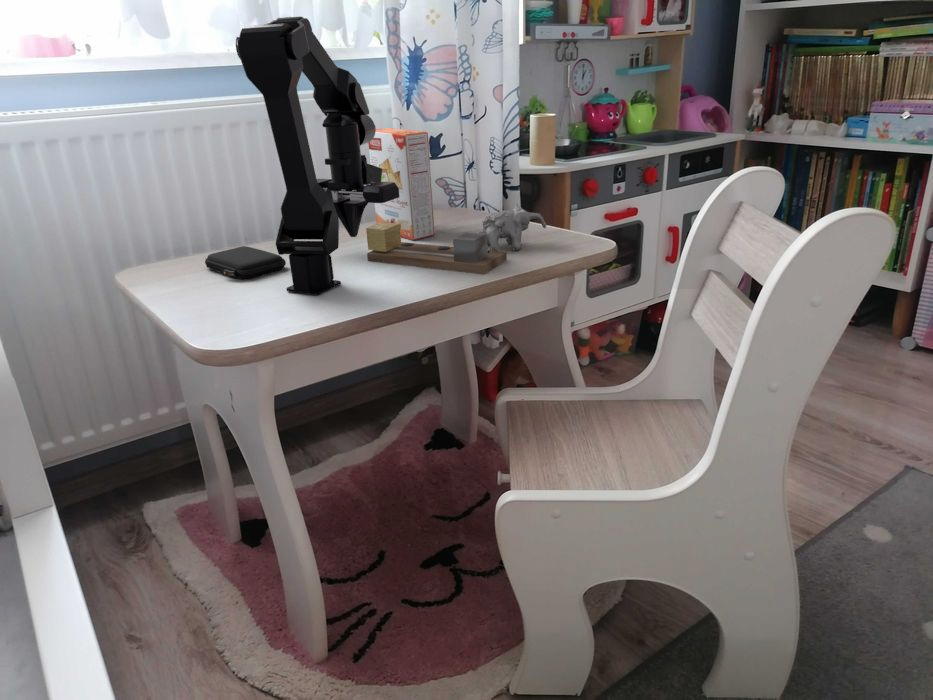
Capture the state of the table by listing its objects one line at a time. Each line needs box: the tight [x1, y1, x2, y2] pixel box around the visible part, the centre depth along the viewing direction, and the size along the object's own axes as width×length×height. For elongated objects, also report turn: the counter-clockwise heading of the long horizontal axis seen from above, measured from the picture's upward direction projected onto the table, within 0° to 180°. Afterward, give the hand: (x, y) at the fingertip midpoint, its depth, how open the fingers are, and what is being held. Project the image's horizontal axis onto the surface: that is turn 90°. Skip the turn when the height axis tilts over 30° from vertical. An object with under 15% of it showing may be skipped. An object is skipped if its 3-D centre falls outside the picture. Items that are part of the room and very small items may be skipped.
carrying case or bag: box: [204, 245, 287, 280], centre depth 126 cm, size 11×3×15 cm
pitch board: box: [366, 231, 508, 275], centre depth 124 cm, size 9×24×6 cm, turn 62°
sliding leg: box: [365, 222, 402, 252], centre depth 128 cm, size 8×4×4 cm, turn 152°
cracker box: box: [367, 127, 436, 241], centre depth 142 cm, size 14×6×21 cm, turn 38°
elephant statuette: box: [481, 203, 547, 252], centre depth 131 cm, size 9×12×8 cm
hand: (353, 236), depth 130 cm, fingers closed
